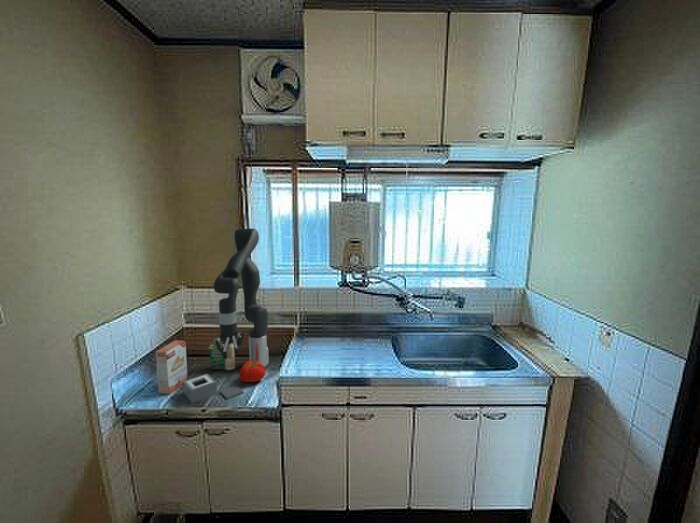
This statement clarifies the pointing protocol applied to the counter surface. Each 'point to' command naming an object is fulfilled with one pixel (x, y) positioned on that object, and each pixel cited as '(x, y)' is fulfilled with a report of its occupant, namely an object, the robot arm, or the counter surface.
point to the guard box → (200, 388)
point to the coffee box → (216, 358)
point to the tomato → (252, 372)
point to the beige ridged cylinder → (230, 357)
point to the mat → (231, 392)
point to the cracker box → (171, 366)
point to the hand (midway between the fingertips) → (229, 356)
